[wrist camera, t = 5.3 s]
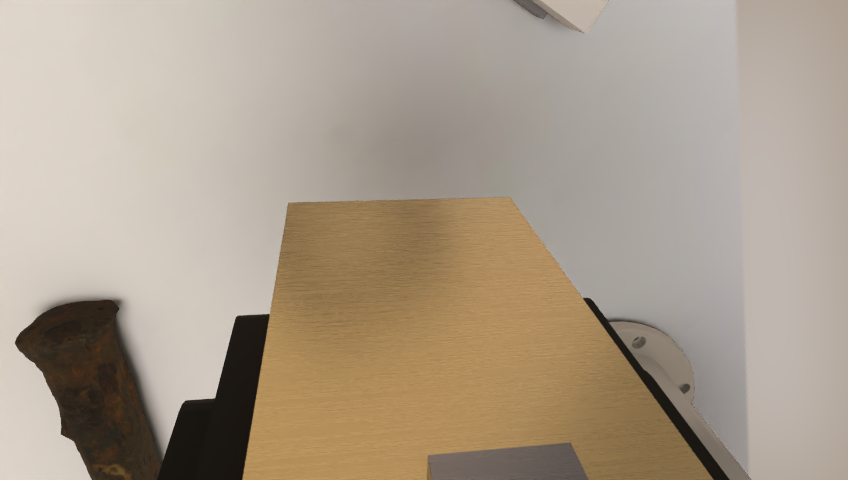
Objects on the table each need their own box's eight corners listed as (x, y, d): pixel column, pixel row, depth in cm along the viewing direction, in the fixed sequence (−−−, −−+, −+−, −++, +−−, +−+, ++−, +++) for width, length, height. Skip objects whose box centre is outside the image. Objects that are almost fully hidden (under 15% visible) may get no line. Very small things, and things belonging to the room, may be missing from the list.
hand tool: (39, 297, 29) (-8, 355, 25) (123, 290, 30) (90, 346, 26) (131, 541, 38) (106, 614, 34) (194, 533, 38) (178, 604, 34)
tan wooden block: (513, 159, 11) (939, 647, 3) (488, 395, 14) (694, 977, 6) (285, 163, 11) (155, 772, 3) (304, 409, 13) (265, 1078, 5)
